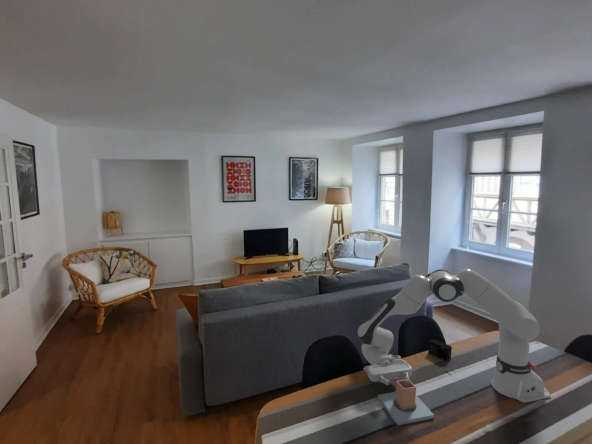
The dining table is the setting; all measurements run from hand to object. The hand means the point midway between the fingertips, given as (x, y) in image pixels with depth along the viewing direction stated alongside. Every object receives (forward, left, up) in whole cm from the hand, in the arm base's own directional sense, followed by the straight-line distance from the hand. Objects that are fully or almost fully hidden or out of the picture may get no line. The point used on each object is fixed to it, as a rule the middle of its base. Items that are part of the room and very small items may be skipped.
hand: (398, 382), depth 140 cm
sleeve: (-1, +5, -6) cm, 8 cm away
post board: (-1, +5, -8) cm, 10 cm away
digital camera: (-34, -32, -8) cm, 48 cm away
